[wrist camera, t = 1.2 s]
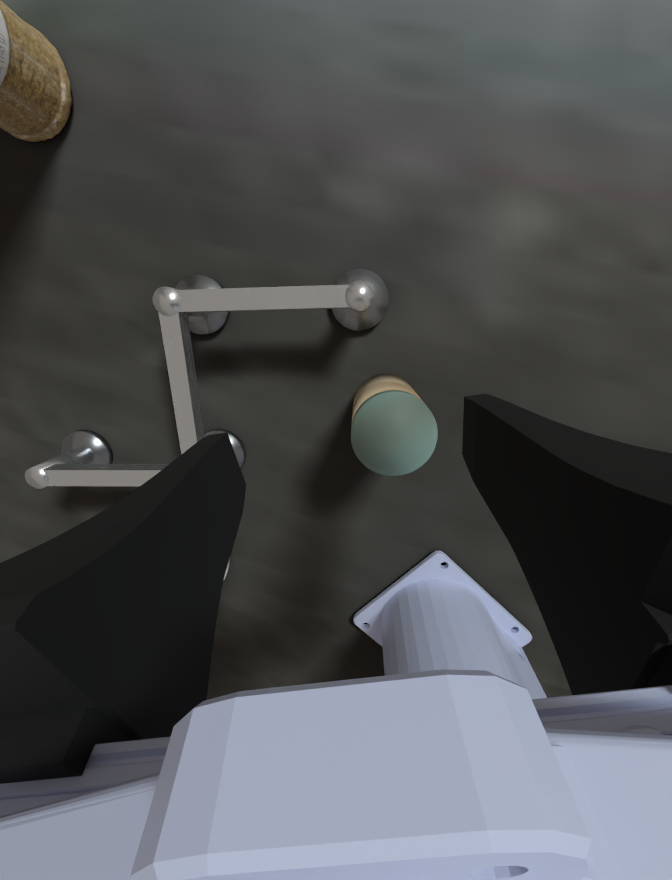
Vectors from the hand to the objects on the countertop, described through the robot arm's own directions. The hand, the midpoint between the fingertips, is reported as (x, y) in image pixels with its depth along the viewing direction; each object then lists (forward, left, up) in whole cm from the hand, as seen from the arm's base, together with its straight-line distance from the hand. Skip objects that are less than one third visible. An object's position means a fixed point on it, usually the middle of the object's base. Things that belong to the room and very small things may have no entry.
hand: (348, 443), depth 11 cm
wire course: (+5, +5, -10) cm, 12 cm away
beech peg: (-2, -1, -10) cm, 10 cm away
